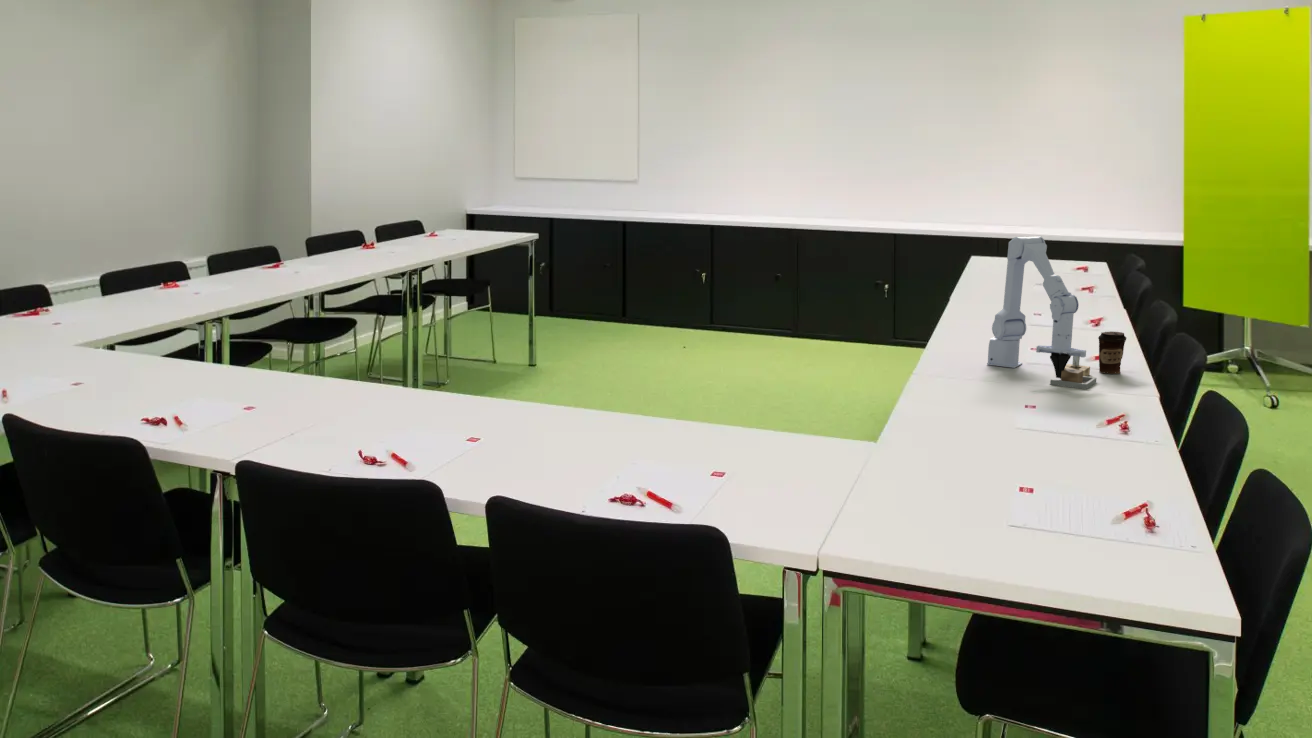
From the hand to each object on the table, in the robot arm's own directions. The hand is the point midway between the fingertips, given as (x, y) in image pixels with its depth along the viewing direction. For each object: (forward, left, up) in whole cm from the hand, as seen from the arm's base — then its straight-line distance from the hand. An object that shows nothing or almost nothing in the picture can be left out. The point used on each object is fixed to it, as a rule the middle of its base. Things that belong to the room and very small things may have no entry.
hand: (1059, 377), depth 339 cm
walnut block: (+4, 0, -1) cm, 4 cm away
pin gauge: (+2, +12, -1) cm, 12 cm away
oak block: (+2, +12, -1) cm, 12 cm away
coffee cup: (+10, +22, -2) cm, 24 cm away
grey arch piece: (+4, 0, -1) cm, 4 cm away
